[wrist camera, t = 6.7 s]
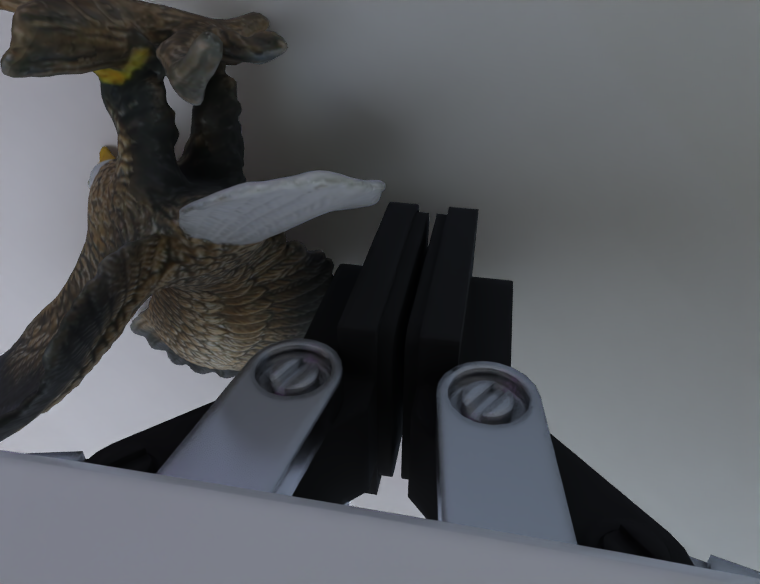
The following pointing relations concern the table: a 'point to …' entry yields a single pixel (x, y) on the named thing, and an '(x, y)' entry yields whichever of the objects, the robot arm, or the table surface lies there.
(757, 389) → the table surface
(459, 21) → the table surface
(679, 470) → the table surface
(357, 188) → the eagle figurine
